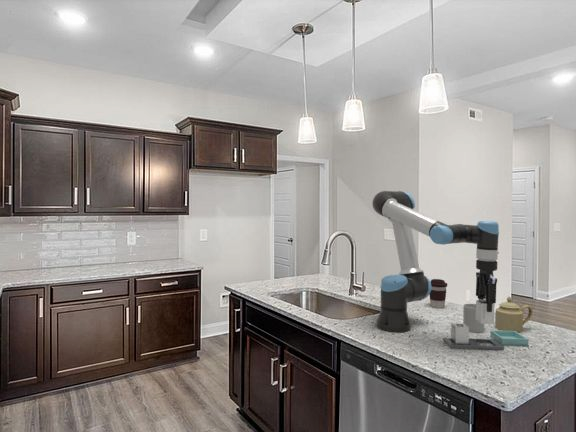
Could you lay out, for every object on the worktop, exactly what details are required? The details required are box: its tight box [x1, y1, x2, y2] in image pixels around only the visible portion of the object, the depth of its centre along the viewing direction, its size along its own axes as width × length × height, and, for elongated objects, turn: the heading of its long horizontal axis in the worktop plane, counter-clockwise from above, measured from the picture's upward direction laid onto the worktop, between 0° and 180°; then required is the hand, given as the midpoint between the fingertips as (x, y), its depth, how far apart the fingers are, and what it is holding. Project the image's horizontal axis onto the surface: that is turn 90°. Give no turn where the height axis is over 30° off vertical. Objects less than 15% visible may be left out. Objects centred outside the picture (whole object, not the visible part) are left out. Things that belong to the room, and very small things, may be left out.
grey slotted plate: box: [442, 337, 505, 351], centre depth 154 cm, size 20×9×1 cm, turn 86°
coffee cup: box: [429, 278, 448, 309], centre depth 213 cm, size 10×10×15 cm
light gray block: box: [450, 322, 470, 345], centre depth 154 cm, size 5×5×8 cm
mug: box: [462, 303, 485, 334], centre depth 174 cm, size 12×8×11 cm
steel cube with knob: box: [475, 299, 496, 325], centre depth 153 cm, size 5×5×8 cm
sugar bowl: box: [494, 295, 533, 333], centre depth 176 cm, size 15×11×15 cm
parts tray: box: [489, 329, 529, 347], centre depth 159 cm, size 10×10×3 cm
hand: (484, 317), depth 154 cm, fingers closed on steel cube with knob, 5 cm apart
